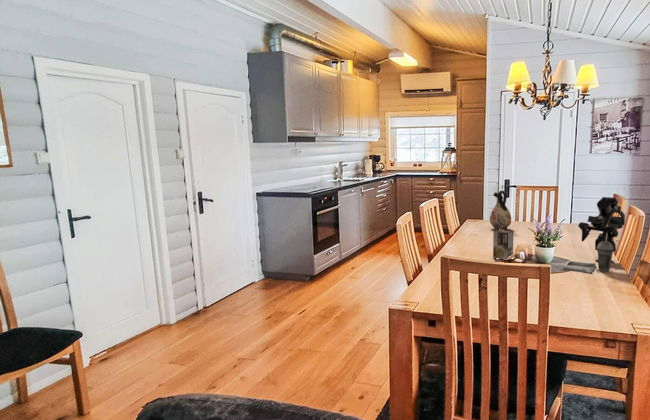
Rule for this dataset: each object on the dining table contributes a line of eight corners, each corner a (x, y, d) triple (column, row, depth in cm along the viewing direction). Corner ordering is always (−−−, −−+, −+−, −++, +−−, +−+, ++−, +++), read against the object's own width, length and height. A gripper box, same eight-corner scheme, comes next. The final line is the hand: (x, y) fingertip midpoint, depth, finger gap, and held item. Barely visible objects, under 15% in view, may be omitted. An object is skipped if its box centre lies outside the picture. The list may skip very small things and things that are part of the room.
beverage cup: (609, 269, 227) (612, 231, 225) (614, 273, 221) (617, 234, 218) (593, 269, 229) (595, 230, 227) (598, 273, 223) (600, 233, 220)
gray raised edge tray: (596, 266, 233) (596, 266, 233) (591, 273, 222) (591, 272, 222) (568, 263, 241) (568, 262, 241) (562, 269, 231) (562, 268, 231)
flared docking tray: (595, 266, 234) (596, 263, 233) (590, 273, 222) (590, 269, 222) (568, 263, 242) (568, 259, 241) (562, 269, 230) (562, 266, 230)
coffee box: (513, 259, 253) (514, 231, 251) (507, 261, 249) (508, 233, 247) (498, 256, 260) (498, 229, 258) (492, 258, 256) (493, 231, 254)
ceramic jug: (485, 228, 344) (485, 189, 340) (501, 226, 349) (502, 188, 344) (499, 232, 328) (500, 191, 324) (517, 230, 333) (518, 190, 328)
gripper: (579, 207, 242) (566, 231, 239) (614, 212, 225) (601, 237, 222) (589, 218, 246) (576, 242, 244) (624, 223, 230) (611, 249, 227)
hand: (590, 242), depth 234 cm, fingers open, 9 cm apart
